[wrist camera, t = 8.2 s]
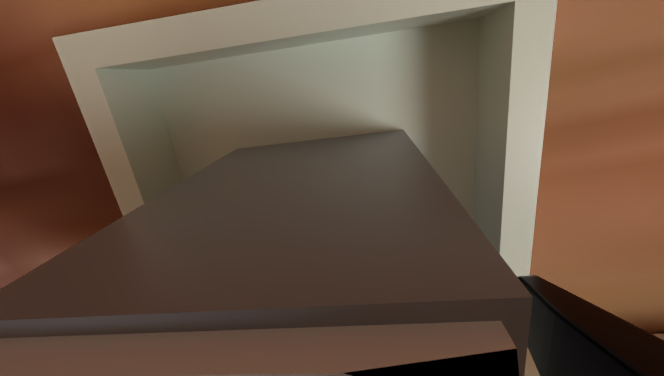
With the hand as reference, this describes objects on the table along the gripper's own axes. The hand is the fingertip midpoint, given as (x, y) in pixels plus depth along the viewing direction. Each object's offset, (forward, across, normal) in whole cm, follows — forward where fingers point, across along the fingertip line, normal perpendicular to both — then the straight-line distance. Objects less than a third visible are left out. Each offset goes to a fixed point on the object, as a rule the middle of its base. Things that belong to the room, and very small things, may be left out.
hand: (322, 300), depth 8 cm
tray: (+3, 0, 0) cm, 3 cm away
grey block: (+3, 0, 0) cm, 3 cm away
